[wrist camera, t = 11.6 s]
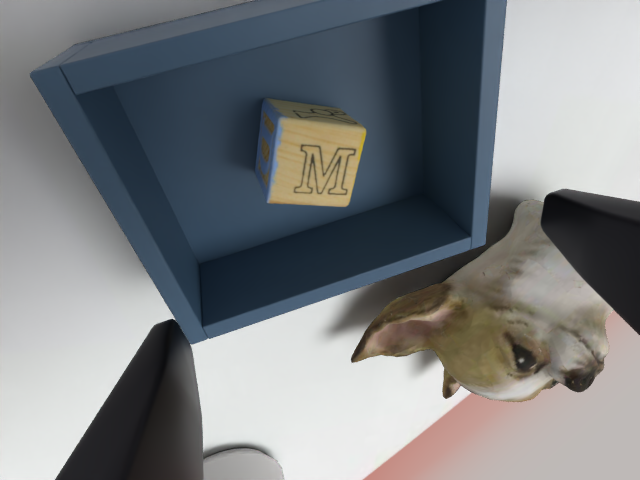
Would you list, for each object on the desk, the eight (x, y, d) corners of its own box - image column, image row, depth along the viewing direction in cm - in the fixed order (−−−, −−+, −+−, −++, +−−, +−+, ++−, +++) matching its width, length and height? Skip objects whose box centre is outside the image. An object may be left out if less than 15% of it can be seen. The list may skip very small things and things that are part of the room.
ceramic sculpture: (761, 328, 18) (499, 489, 23) (607, 223, 25) (432, 365, 29) (712, 220, 12) (378, 465, 17) (531, 124, 19) (329, 318, 24)
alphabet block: (262, 93, 14) (278, 117, 12) (341, 105, 15) (370, 129, 13) (253, 171, 16) (265, 206, 14) (325, 177, 17) (348, 211, 15)
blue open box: (426, -42, 14) (512, -48, 10) (430, 195, 20) (486, 245, 16) (73, 44, 13) (26, 73, 9) (189, 272, 18) (190, 345, 15)
